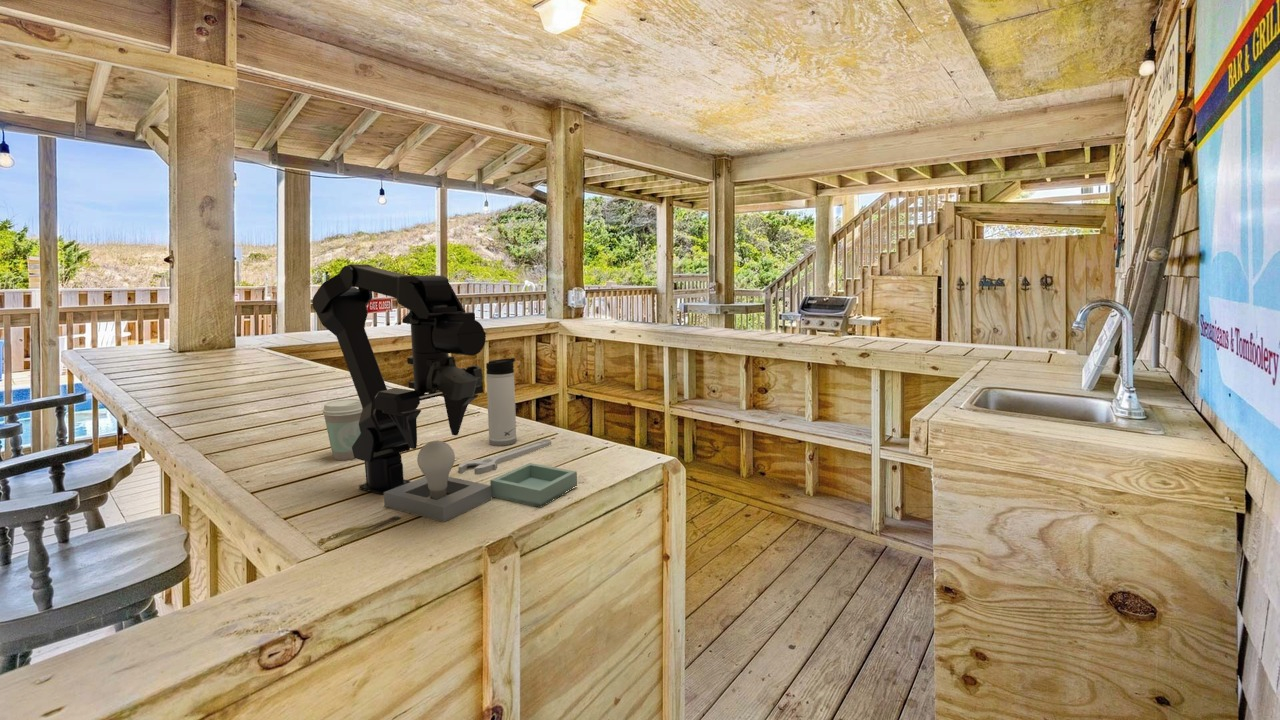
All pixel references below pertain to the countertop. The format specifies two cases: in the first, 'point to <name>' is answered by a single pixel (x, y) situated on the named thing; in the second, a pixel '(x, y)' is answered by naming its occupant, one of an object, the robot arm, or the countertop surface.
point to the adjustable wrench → (501, 458)
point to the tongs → (356, 530)
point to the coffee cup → (343, 426)
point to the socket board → (443, 509)
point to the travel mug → (501, 402)
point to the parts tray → (533, 484)
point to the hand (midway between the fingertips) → (435, 441)
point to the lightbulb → (436, 466)
